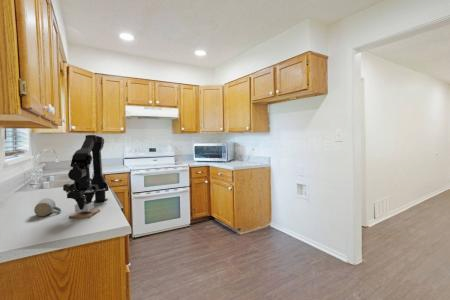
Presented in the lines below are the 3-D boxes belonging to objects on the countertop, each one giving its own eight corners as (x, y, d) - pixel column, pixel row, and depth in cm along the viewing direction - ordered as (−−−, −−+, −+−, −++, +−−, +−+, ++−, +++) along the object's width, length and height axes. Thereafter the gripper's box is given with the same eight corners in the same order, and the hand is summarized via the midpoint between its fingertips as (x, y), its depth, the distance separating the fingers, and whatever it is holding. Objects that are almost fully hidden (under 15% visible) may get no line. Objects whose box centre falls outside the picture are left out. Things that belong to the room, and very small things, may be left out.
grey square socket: (81, 208, 121) (81, 201, 121) (93, 207, 121) (93, 201, 121) (75, 211, 115) (74, 204, 115) (87, 211, 115) (87, 204, 115)
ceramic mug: (33, 218, 115) (32, 202, 114) (38, 213, 122) (37, 199, 122) (59, 215, 119) (59, 200, 119) (62, 210, 127) (62, 196, 126)
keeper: (80, 211, 123) (79, 198, 123) (100, 211, 124) (99, 198, 123) (68, 218, 113) (68, 204, 113) (90, 217, 114) (89, 203, 113)
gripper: (77, 174, 126) (78, 203, 127) (54, 181, 108) (56, 214, 108) (98, 174, 127) (99, 202, 128) (79, 180, 108) (80, 213, 109)
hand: (84, 207), depth 118 cm, fingers closed on grey square socket, 6 cm apart
